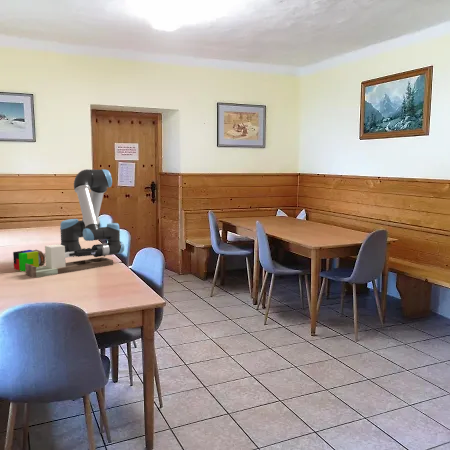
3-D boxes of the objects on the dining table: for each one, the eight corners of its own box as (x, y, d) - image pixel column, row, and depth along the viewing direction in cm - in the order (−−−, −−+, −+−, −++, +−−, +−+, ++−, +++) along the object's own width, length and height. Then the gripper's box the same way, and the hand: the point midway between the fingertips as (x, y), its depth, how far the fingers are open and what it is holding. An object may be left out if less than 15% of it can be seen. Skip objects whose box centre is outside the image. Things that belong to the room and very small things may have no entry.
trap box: (25, 274, 254) (25, 263, 253) (103, 261, 288) (102, 252, 287) (34, 278, 246) (34, 267, 245) (113, 264, 279) (112, 255, 278)
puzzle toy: (30, 266, 275) (29, 249, 274) (39, 268, 269) (38, 251, 267) (14, 268, 267) (13, 252, 266) (22, 271, 261) (21, 254, 260)
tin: (45, 265, 276) (44, 251, 275) (40, 266, 274) (39, 252, 273) (35, 261, 287) (34, 248, 286) (30, 262, 285) (29, 249, 284)
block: (45, 266, 260) (44, 245, 258) (59, 264, 265) (58, 244, 263) (51, 269, 254) (50, 247, 252) (65, 266, 259) (64, 246, 258)
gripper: (105, 257, 274) (68, 263, 257) (94, 254, 283) (58, 260, 266) (105, 245, 273) (68, 250, 256) (94, 242, 282) (57, 247, 265)
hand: (63, 255), depth 261 cm, fingers closed
